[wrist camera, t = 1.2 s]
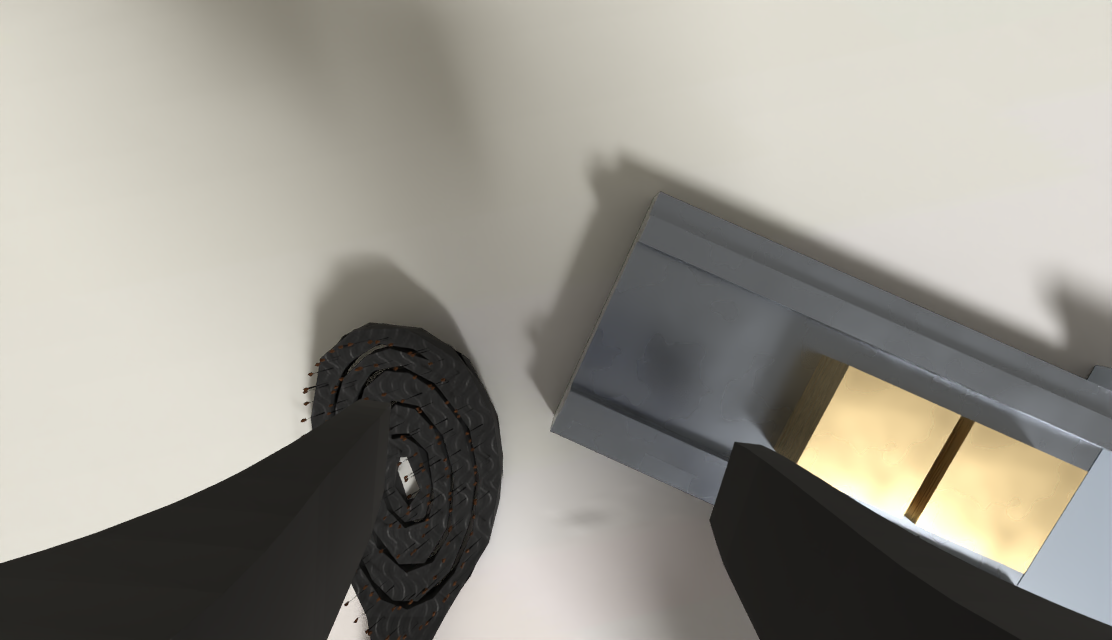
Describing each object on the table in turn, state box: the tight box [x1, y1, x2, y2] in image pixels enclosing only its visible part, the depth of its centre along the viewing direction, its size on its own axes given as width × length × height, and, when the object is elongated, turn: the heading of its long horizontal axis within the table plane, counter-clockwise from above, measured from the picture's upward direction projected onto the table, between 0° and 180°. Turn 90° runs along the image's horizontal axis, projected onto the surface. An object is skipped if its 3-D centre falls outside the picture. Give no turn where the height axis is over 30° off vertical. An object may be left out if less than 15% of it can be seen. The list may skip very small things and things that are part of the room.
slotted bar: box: [550, 192, 1112, 586], centre depth 20 cm, size 18×10×3 cm, turn 66°
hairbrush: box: [301, 323, 503, 640], centre depth 22 cm, size 8×4×25 cm
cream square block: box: [774, 355, 961, 519], centre depth 18 cm, size 4×4×2 cm
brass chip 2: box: [904, 416, 1088, 574], centre depth 18 cm, size 4×4×2 cm
